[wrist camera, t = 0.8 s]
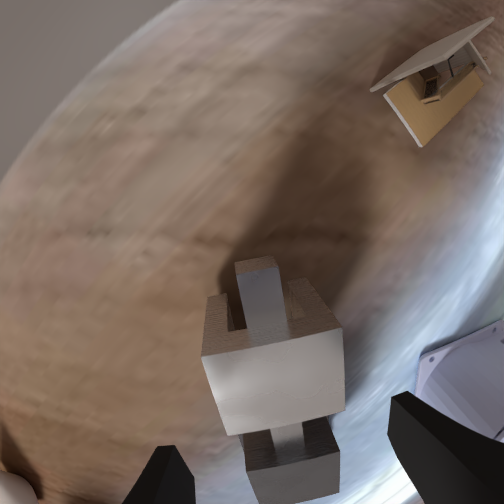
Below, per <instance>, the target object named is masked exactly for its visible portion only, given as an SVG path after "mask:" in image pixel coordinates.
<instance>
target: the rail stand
mask: <svg viewBox="0 0 504 504" xmlns="http://www.w3.org/2000/svg"><path fill="white" fill-rule="evenodd" d="M235 271H236V278H237V282H238V287H239V292H240V297H241V301H242V306H243V311H244V315H245V320H246V325H247V328H252V327H257V326H262V325H267V324H272V323H277V322H281V321H286V320H287V317H286V311H285V304H284V298H283V292H282V285H281V279H280V273H279V267H278V265H277V263H276V261H275V259H274V257H273V256H272V255H270V256H265V257H260V258H255V259H250V260H244V261H239V262H235ZM238 436H239V439H240V442H241V445H242V447H243V450H244V454H245V465H246V473H247V475H248V478H249V480H250V483H251V485H252V488H253V490H254V493H255V495H256V498H257V500H258V502H259V504H295V503H300V502H304V501H308V500H313V499H317V498H321V497H325V496H328V495H332V494H336V493H339V484H340V450H339V447H338V445H337V442H336V440H335V437H334V435H333V432H332V430H331V427H330V425H329V422H328V415H327V416H323V417H319V418H315V419H311V420H307V421H303V422H299V423H295V424H290V425H286V426H281V427H276V428H271V429H266V430H260V431H255V432H249V433H243V434H238Z"/></svg>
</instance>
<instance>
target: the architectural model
mask: <svg viewBox="0 0 504 504" xmlns="http://www.w3.org/2000/svg"><path fill="white" fill-rule="evenodd" d="M494 20H495V19H494V17H493V16H491V17H489V18H486V19H484V20H482V21H480V22H477V23H475V24H473V25H471V26H468V27H466V28H464V29H462V30H460V31H458V32H455V33H453V34H451V35H449V36H447V37H445V38H443V39H441V40H439V41H437V42H435V43H433V44H431V45H429V46H427V47H425V48H423V49H421V50H420V51H418V52H417V53H416V54H414V55H413V56H412V57H410V58H409V59H408V60H406V61H405V62H404V63H403V64H401V65H400V66H399V67H397V68H396V69H395V70H393V71H392V72H391V73H390V74H388V75H387V76H386V77H384V78H383V79H382V80H381V81H379V82H378V83H377V84H375V85H374V86H373V87H372V88H370V89H369V90H370V91H371V93H372V92H374V91H376V90H378V89H380V88H382V87H384V86H386V85H389V84H391V83H393V82H395V81H397V80H400V79H402V80H401V81H399V82H398V83H397V84H396V85H395V86H393V87H392V88H391V89H390V90H388V91H387V92H386V93H385V94H384V95H383V96H384V98H385V99H386V100H387V102H388V103H389V104H390V106H391V107H392V108H393V110H394V111H395V112H396V114H397V115H398V117H399V118H400V119H401V121H402V122H403V124H404V125H405V127H406V128H407V129H408V131H409V132H410V134H411V135H412V137H413V138H414V140H415V141H416V143H417V144H418V146H419V147H424V146H425V145H426V144H427V143H428V142H429V141H430V140H431V139H432V138H433V137H434V136H435V135H436V134H437V133H438V132H439V131H440V130H441V129H442V128H443V127H444V126H445V125H446V124H447V123H448V122H449V121H450V120H451V119H452V118H453V117H454V116H455V115H456V114H457V113H458V112H459V111H460V110H461V109H462V108H463V107H464V105H465V104H466V103H467V102H468V101H469V100H470V99H471V98H472V97H473V96H474V95H475V94H476V93H477V92H478V91H479V90H480V89H481V88H482V87H483V86H484V85H483V83H482V81H481V80H480V78H479V76H478V75H477V73H476V71H475V69H476V68H477V67H478V66H480V67H481V68H482V69H483V70H485V71H486V72H487V73H488V74H489V75H490V74H491V71H490V69H489V68H488V66H487V64H486V63H485V61H484V60H487V59H488V58H487V57H483V58H482V56H481V55H480V53H479V52H478V50H477V49H476V47H475V46H474V44H473V43H472V41H471V39H472V38H473V37H474V36H476V35H477V34H478V33H479V32H481V31H482V30H483V29H484V28H485V27H487V26H488V25H489V24H490V23H492V22H493V21H494ZM475 63H476V65H475ZM463 64H465V65H464V66H463V67H461V68H460V69H459V70H458V71H457V72H456V73H455V74H454V75H453V72H452V68H454V67H457V66H460V65H463ZM472 64H473V65H472ZM432 65H433V66H434V68H435V69H436V70H437V72H438V73H440V72H443V71H446V70H449V69H450V71H451V75H452V77H450V78H449V79H448V80H447V81H446V82H445V83H444V84H443V85H442V86H440V87H439V78H440V77H441V76H440V75H438V76H435V77H432V78H429V79H427V80H424V79H423V77H422V76H421V75H420V73H419V72H418V71H420V70H422V69H425V68H427V67H429V66H432ZM474 65H475V66H474ZM473 66H474V68H473ZM436 79H437V80H436ZM433 80H434V82H435V80H436V82H435V85H434V93H433V94H432V87H433V84H434V82H433ZM430 81H431V83H432V82H433V83H432V86H431V89H430V93H431V95H430V96H429V88H430V85H431V83H430ZM427 83H428V84H429V83H430V84H429V87H428V89H427V96H428V98H426V96H425V92H426V88H427V86H428V84H427ZM436 83H437V90H436V91H435V86H436ZM426 84H427V86H426Z"/></svg>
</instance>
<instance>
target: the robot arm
mask: <svg viewBox="0 0 504 504" xmlns="http://www.w3.org/2000/svg"><path fill="white" fill-rule="evenodd" d="M387 435H388V437H389V440H390V442H391V445H392V447H393V449H394V451H395V454H396V456H397V458H398V460H399V461H400V463H401V465H402V466H403V468H404V470H405V471H406V473H407V475H408V476H409V478H410V479H411V481H412V483H413V484H414V486H415V488H416V489H417V491H418V493H419V494H420V496H421V498H422V499H423V501H424V503H425V504H504V321H503V320H499V321H497V322H495V323H493V324H491V325H489V326H487V327H485V328H483V329H481V330H479V331H476V332H474V333H472V334H470V335H468V336H466V337H463V338H461V339H459V340H457V341H454V342H452V343H450V344H447V345H445V346H443V347H440V348H438V349H435V350H433V351H430V352H428V353H425V354H423V355H422V356H421V357H420V359H419V363H418V371H417V379H416V386H415V392H414V395H413V394H412V393H410V392H408V391H405V392H403V393H400V394H398V395H395V396H392V397H391V406H390V416H389V425H388V433H387ZM122 504H196V498H195V482H194V476H193V475H192V473H191V472H190V470H189V468H188V467H187V465H186V463H185V462H184V460H183V458H182V457H181V455H180V453H179V452H178V450H177V448H176V446H175V445H169V446H157V448H156V449H155V451H154V453H153V454H152V456H151V458H150V460H149V461H148V463H147V465H146V466H145V468H144V470H143V472H142V473H141V475H140V477H139V478H138V480H137V481H136V483H135V485H134V486H133V488H132V489H131V491H130V492H129V494H128V495H127V497H126V498H125V500H124V501H123V503H122Z"/></svg>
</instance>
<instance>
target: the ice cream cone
mask: <svg viewBox="0 0 504 504" xmlns="http://www.w3.org/2000/svg"><path fill="white" fill-rule="evenodd" d="M0 504H39V503H38V500H37V497H36V495H35V493H34V490H33V488H32V486H31V485H30V484H29V483H28V482H27V481H26V480H25V479H24V478H22V477H20V476H18V475H15V474H12V473H9V472H5V471H2V470H0Z"/></svg>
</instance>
